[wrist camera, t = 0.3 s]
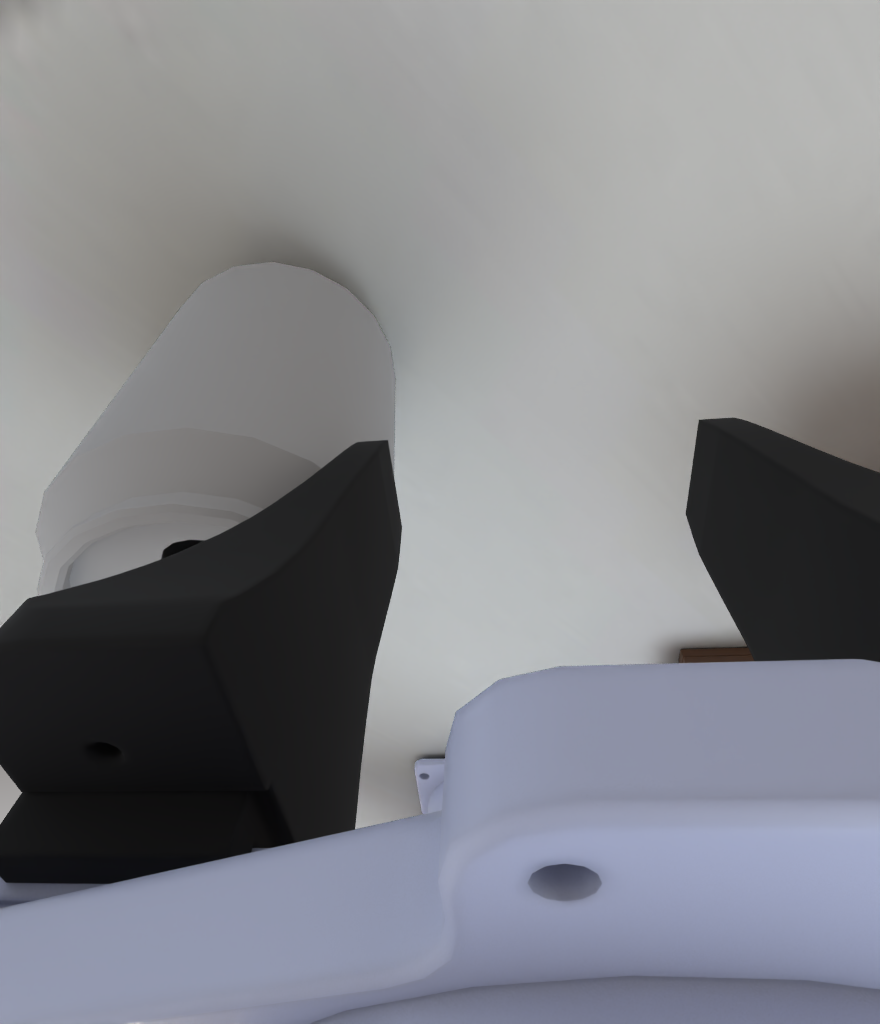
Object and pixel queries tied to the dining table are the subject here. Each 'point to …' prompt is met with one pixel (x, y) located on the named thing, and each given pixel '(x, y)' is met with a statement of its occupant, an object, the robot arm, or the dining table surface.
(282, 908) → the robot arm
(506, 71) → the dining table surface
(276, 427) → the can
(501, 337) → the dining table surface
